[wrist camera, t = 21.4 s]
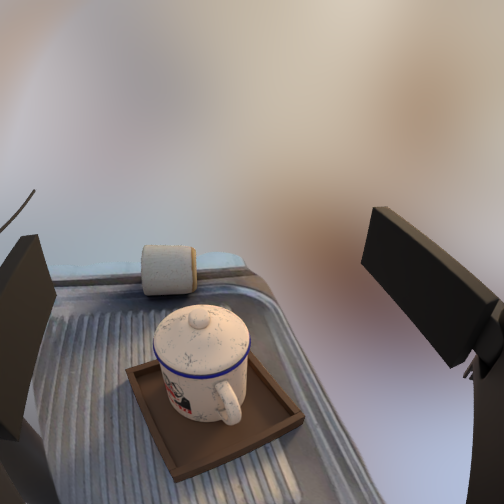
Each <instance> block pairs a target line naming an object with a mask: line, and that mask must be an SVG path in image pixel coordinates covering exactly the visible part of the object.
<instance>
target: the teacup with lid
mask: <svg viewBox="0 0 504 504" xmlns="http://www.w3.org/2000/svg"><path fill="white" fill-rule="evenodd" d="M250 345H251V338H250V334H249V331H248V329H247V327H246V325H245V324H244V322H243V321H242V320H241V319H240V318H239V317H238V316H237V315H235V314H234V313H232V312H231V311H229V310H226V309H224V308H221V307H217V306H212V305H193V306H188V307H184V308H181V309H179V310H176V311H174V312H173V313H171V314H169V315H168V316H167V317H166V318H164V319H163V320H162V322H161V323H160V324H159V326H158V327H157V329H156V331H155V334H154V339H153V349H154V353H155V355H156V358H157V359H158V361H159V363H160V367H161V371H162V375H163V379H164V382H165V386H166V390H167V393H168V397H169V400H170V402H171V404H172V405H173V407H174V408H175V409H176V410H177V411H178V412H179V413H180V414H182V415H183V416H185V417H187V418H189V419H191V420H195V421H199V422H214V421H219V420H223V421H224V422H225V423H226V424H227V425H234V424H237V423H239V422H240V420H241V408H240V406H241V405H242V403H243V401H244V399H245V395H246V379H247V356H248V353H249V350H250Z"/></svg>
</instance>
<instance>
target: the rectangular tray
mask: <svg viewBox="0 0 504 504" xmlns="http://www.w3.org/2000/svg"><path fill="white" fill-rule="evenodd" d="M125 371H126V373H127V376H128V379H129V381H130V384H131V387H132V389H133V392H134V394H135V397H136V399H137V402H138V404H139V407H140V409H141V412H142V414H143V416H144V419H145V421H146V423H147V426H148V428H149V430H150V432H151V435H152V437H153V439H154V441H155V443H156V445H157V447H158V450H159V452H160V454H161V456H162V458H163V460H164V462H165V464H166V466H167V468H168V470H169V472H170V474H171V476H172V478H173V479H174V481H175V483H177V482H180V481H183V480H185V479H188V478H191V477H193V476H196V475H198V474H201V473H203V472H206V471H208V470H211V469H213V468H215V467H218V466H220V465H222V464H225V463H227V462H229V461H231V460H233V459H236V458H238V457H240V456H242V455H244V454H246V453H248V452H251V451H253V450H255V449H257V448H259V447H261V446H263V445H265V444H267V443H269V442H271V441H272V440H274V439H276V438H278V437H280V436H282V435H284V434H286V433H287V432H289V431H291V430H293V429H295V428H297V427H298V426H300V425H302V424H303V421H304V419H305V415H304V414H303V413H302V411H301V410H300V409H299V408H298V407H297V406H296V404H295V403H294V402H293V401H292V400H291V399H290V397H289V396H288V395H287V394H286V393H285V392H284V390H283V389H282V388H281V387H280V386H279V385H278V383H277V382H276V381H275V380H274V379H273V377H272V376H271V375H270V374H269V373H268V371H267V370H266V369H265V368H264V367H263V365H262V364H261V363H260V362H259V360H258V359H257V358H256V357H255V356H254V354H253V353H252V352H251V351H250V350H249V353H248V356H247V379H246V395H245V399H244V401H243V403H242V405H241V406H240V408H241V420H240V422H239V423H237V424H234V425H227V424H226V423H225V422H224V421H223V420H219V421H214V422H199V421H195V420H191V419H189V418H187V417H185V416H183V415H182V414H180V413H179V412H178V411H177V410H176V409H175V408H174V407H173V405H172V404H171V402H170V400H169V397H168V393H167V390H166V386H165V382H164V379H163V375H162V371H161V367H160V363H159V361H158V359H156V360H153V361H150V362H147V363H144V364H141V365H138V366H134V367H131V368H128V369H125Z"/></svg>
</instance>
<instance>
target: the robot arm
mask: <svg viewBox="0 0 504 504" xmlns="http://www.w3.org/2000/svg"><path fill="white" fill-rule="evenodd" d="M34 193H35V190H33V191H32V193H31V194H30V195H29V197H28V198H27V200H26V201H25V202H24V204H23V205H22V206H21V207H20V209H19V210H18V211H17V212H16V213H15V214H14V215H13V216H12V217H11V219H10V220H9V221H8V222H7V223H6V224H5V225H4V226H2V227H1V228H0V233H1V232H2V231H3V230H4V229H5V228H6V227H7V226H8V225H9V224H10V223H11V221H13V220H14V219H15V217H16V216H17V215H18V214H19V213H20V212H21V210H22V209H23V208H24V207H25V205H26V204H27V203H28V201H29V200H30V198H31V197H32V196H33V194H34ZM361 264H362V265H363V266H364V267H365V268H366V270H367V271H368V272H369V273H370V274H371V275H372V276H373V277H374V278H375V280H376V281H377V282H378V283H379V284H380V285H381V286H382V287H383V289H384V290H385V291H386V292H387V293H388V294H389V295H390V296H391V298H392V299H393V300H394V301H395V302H396V303H397V305H398V306H399V307H400V308H401V309H402V310H403V311H404V313H405V314H406V315H407V316H408V317H409V318H410V320H411V321H412V322H413V323H414V324H415V325H416V327H417V328H418V329H419V330H420V332H421V333H422V334H423V335H424V336H425V338H426V339H427V340H428V341H429V342H430V344H431V345H432V346H433V347H434V348H435V350H436V351H437V352H438V354H439V355H440V356H441V357H442V359H443V360H444V361H445V362H446V364H447V365H448V366H449V367H450V369H451V368H453V367H455V366H457V365H459V364H461V363H463V362H465V360H466V358H467V357H468V355H469V354H470V352H471V350H472V349H473V350H474V351H475V352H476V356H475V358H474V359H473V360H472V362H471V364H470V365H469V367H468V368H467V370H466V371H465V373H464V375H463V378H466V377H467V376H468V374H469V373H470V371H473V373H472V375H471V377H470V378H469V379H470V380H473V384H474V426H473V446H472V461H471V470H470V479H469V487H468V494H467V500H466V504H504V303H503V302H502V301H501V300H500V299H499V298H498V297H497V296H496V295H495V294H494V293H493V292H492V291H491V290H489V289H488V288H487V287H486V286H485V285H484V284H483V283H482V282H481V281H480V280H478V279H477V278H476V277H475V276H474V275H473V274H472V273H470V272H469V271H468V270H467V269H466V268H465V267H463V266H462V265H461V264H460V263H459V262H458V261H456V260H455V259H454V258H453V257H451V256H450V255H449V254H448V253H447V252H446V251H444V250H443V249H442V248H441V247H439V246H438V245H437V244H436V243H434V242H433V241H432V240H431V239H429V238H428V237H427V236H426V235H424V234H423V233H422V232H420V231H419V230H418V229H416V228H415V227H414V226H413V225H411V224H410V223H409V222H407V221H406V220H405V219H403V218H402V217H401V216H399V215H398V214H396V213H395V212H394V211H392V210H391V209H390V208H388V207H373V210H372V215H371V219H370V225H369V229H368V234H367V239H366V243H365V247H364V252H363V256H362V260H361ZM56 296H57V295H56V292H55V289H54V286H53V283H52V280H51V277H50V274H49V271H48V268H47V264H46V261H45V258H44V254H43V251H42V248H41V244H40V240H39V237H38V234H35V235H27V236H21V237H20V239H19V240H18V242H17V243H16V244H15V246H14V247H13V249H12V250H11V252H10V253H9V254H8V256H7V257H6V259H5V261H4V262H3V264H2V265H1V267H0V439H3V440H10V441H17V442H19V438H20V432H21V426H22V420H23V415H24V409H25V405H26V400H27V395H28V391H29V386H30V382H31V378H32V374H33V370H34V366H35V363H36V359H37V355H38V352H39V348H40V345H41V341H42V338H43V335H44V331H45V328H46V325H47V322H48V319H49V316H50V313H51V310H52V307H53V304H54V301H55V299H56ZM0 504H26V503H25V502H24V500H23V499H22V497H21V496H20V494H19V493H18V491H17V489H16V488H15V486H14V484H13V483H12V481H11V479H10V478H9V476H8V474H7V472H6V471H5V469H4V467H3V465H2V463H1V461H0Z"/></svg>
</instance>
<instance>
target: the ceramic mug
mask: <svg viewBox="0 0 504 504" xmlns="http://www.w3.org/2000/svg"><path fill="white" fill-rule="evenodd" d="M141 275H142V285H143V291H144V294H145V295H147V296H150V295H169V294H187V293H191V292H194V291H195V290H196V289H197V273H196V250H195V249H194V248H192V247H188V246H166V245H145V246H144V247H143V251H142V258H141Z"/></svg>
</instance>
